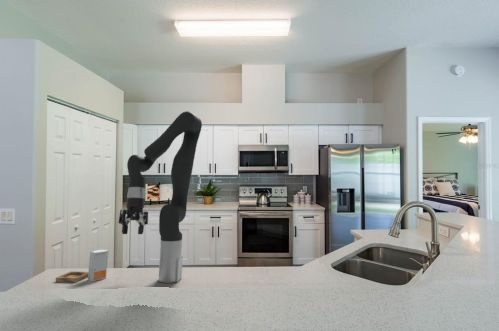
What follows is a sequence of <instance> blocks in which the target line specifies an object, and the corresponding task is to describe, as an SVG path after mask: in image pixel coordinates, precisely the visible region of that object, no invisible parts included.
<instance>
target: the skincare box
mask: <svg viewBox="0 0 499 331" xmlns="http://www.w3.org/2000/svg"><path fill="white" fill-rule="evenodd" d="M108 259H109V250H108V249H97V250H92V251H89V262H88V263H89V264H88V271H87V272H88V277H87V280H88V281H90V282H95V281H96V282H97V281H100V280H105V278H106V279H107V270H108V269H107V268H108Z"/></svg>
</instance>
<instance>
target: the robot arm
mask: <svg viewBox="0 0 499 331" xmlns="http://www.w3.org/2000/svg"><path fill="white" fill-rule="evenodd" d="M202 126H203V122H202V119H201V118H200V117H199V116H198V115H197V114H195V113H193V112H191V111H187V110H186V111H183V112H181V113H180V114H179V115H177V117H176V118H175V119H174V120H173V121H172V123H171V124H170V125H169V126H168V127H167V128H166V129H165V131H164V132H162V134H161V135H160V136H159V137H157V138H156V139H155V140H154V141H153V142H151V143H150V144H149V145H148V146H146V148H145V149H144V151H143V152H144V155H145V156H141V155H139V154H132V155H130V157H128V160H127V165H126V166H127V167H126V168H127V172H128V177H129V181H128V189H127V196H126V206H125V208H126V209H124V208H123V209H120V210H119V211H120V212H119V216H118V221H117V222H118V224H121V227H122V228H121V233H122V235H127V234H128V229H129V223H130V222H132V221H135V222H136V223H137V224H138V230H137V234H138V235H143V234H144V228H145V226H146V225H149V211H143V209H144V208H145V201H146V200H145V199H146V198H145V197H146V177H145V176H144V175H142V173H145V172H147V171H149V170H150V169H151V168H152V166H153V165H154V164H155V162H156V161H157V160H158V158H160V157H161V156H162V155H164V154H165V153H166V152H167V151H168V150H169V149H170V147H171V146H172V144H173V142H174V140H175V139H176V138H178V137H179V136H180V135H182V134H183V140H182V143H181V145H180V147H179V149H178V150H177V151H176V154H175V155H174V158H173V160H172V164H171V165H172V166H171V169H170V170H171V171H170V178H171V185H172V195H171V201H170V203H166V204H164V205H163V206H162V207H161V209H160V211H159V216H158V217H159V220H158V221H159V224H158V228H159V230H158V231H159V235H160V246H159V248H160V249H159V263H158V264H159V265H158V282H160V283H164V284H165V283H167V284H168V283H169V284H170V283H178V282H179V281H180V280H181V279H182V277H183V258H184V257H183V255H182V247H183V233H182V232H181V231H180V223H181V222H183V220H184V219H185V218H186V214H187V206H188V194H189V189H190V184H191V178H192V175H193V174H192V173H193V168H194V161H195V157H196V156H195V155H196V151H197V146H198V141H199V138H200V135H201V131H202Z"/></svg>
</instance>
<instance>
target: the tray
mask: <svg viewBox="0 0 499 331" xmlns="http://www.w3.org/2000/svg"><path fill="white" fill-rule="evenodd" d="M88 272H89V271H76V270H75V271H69V272H67V273H64V274H61V275H58V276H56V277H55V283H70V284H76V283H77V284H78V283H79V282H81V281H83V280H85V279H88Z"/></svg>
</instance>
